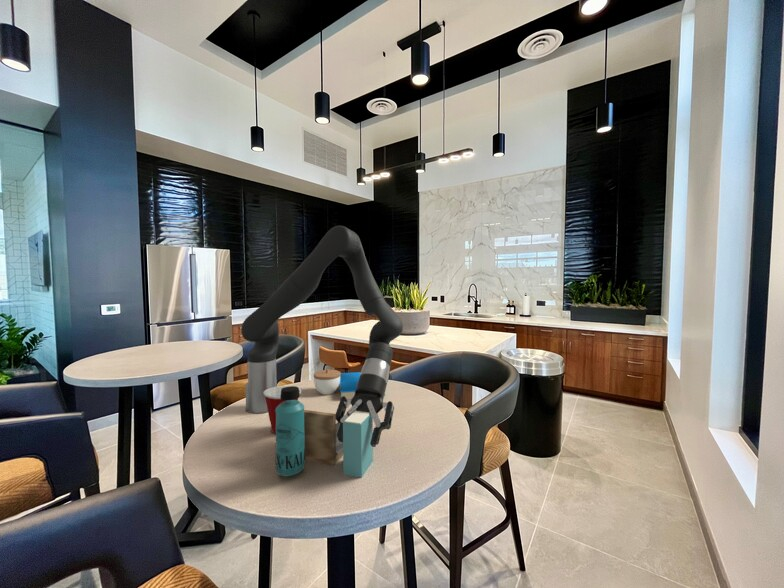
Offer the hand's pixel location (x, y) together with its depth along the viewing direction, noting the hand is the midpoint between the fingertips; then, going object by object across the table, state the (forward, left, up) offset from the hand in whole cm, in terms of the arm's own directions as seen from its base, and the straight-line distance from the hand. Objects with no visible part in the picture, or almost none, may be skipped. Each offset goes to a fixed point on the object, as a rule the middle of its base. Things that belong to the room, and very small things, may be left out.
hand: (356, 443), depth 74 cm
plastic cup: (-27, +18, -7) cm, 33 cm away
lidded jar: (-25, +52, -7) cm, 58 cm away
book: (-12, +58, -7) cm, 59 cm away
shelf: (-13, +9, -6) cm, 17 cm away
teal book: (0, +1, -6) cm, 7 cm away
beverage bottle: (-15, -3, -7) cm, 16 cm away
